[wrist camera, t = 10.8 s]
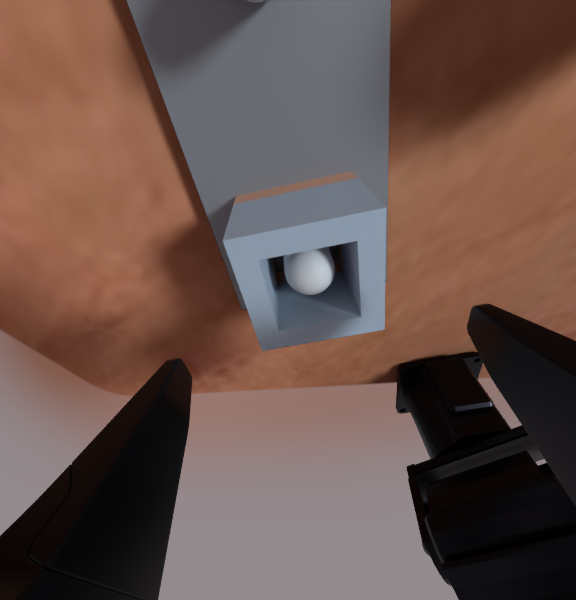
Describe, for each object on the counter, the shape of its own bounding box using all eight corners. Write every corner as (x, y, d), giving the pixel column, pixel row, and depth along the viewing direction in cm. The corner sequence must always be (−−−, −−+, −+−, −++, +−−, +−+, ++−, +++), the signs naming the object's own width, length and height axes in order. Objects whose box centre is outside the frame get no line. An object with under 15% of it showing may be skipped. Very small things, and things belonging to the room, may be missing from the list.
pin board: (382, 275, 18) (416, 334, 14) (242, 301, 19) (235, 365, 15) (385, -311, 7) (541, -840, 3) (59, -202, 8) (-174, -520, 4)
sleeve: (357, 271, 17) (384, 329, 13) (263, 289, 17) (262, 350, 13) (351, 171, 14) (386, 207, 10) (235, 195, 14) (222, 241, 10)
